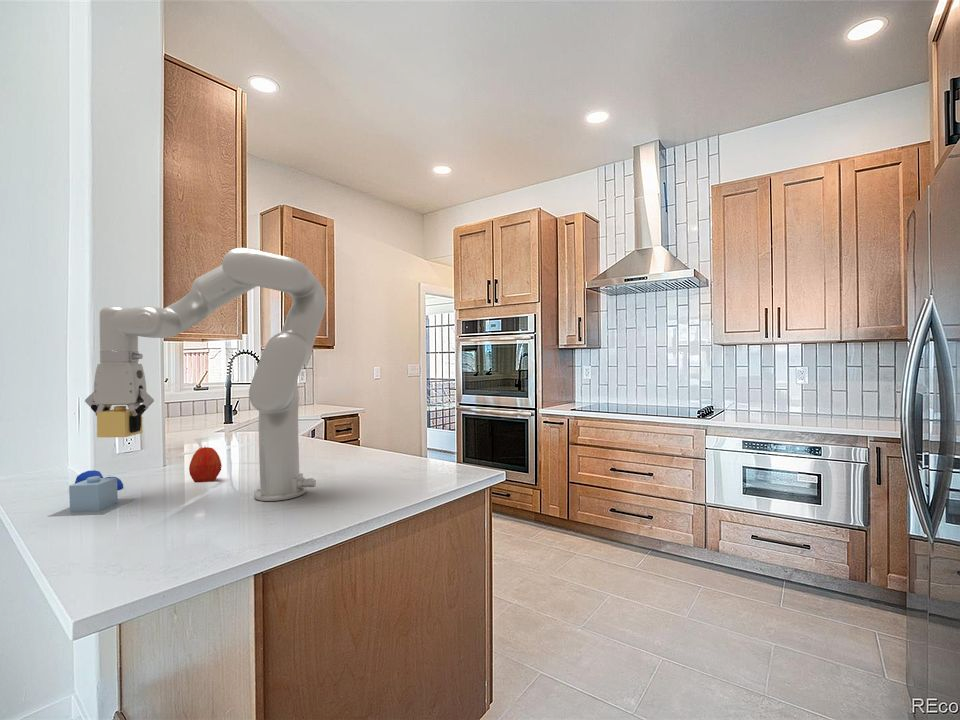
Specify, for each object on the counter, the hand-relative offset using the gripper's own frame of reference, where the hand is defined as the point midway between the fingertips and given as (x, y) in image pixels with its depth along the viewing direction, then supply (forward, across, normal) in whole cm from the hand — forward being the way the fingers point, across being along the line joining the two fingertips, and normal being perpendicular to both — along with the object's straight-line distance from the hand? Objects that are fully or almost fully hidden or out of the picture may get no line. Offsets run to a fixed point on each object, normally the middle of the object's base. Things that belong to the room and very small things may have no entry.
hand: (120, 431), depth 120 cm
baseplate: (+19, +3, +4) cm, 19 cm away
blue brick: (+17, +4, +4) cm, 18 cm away
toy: (+19, +14, -13) cm, 27 cm away
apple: (+18, -10, -21) cm, 29 cm away
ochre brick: (+1, 0, 0) cm, 1 cm away
